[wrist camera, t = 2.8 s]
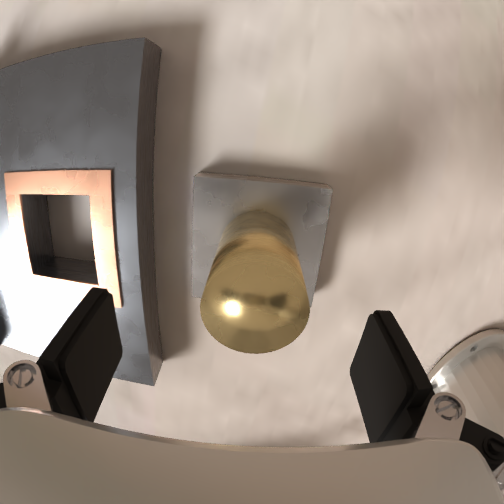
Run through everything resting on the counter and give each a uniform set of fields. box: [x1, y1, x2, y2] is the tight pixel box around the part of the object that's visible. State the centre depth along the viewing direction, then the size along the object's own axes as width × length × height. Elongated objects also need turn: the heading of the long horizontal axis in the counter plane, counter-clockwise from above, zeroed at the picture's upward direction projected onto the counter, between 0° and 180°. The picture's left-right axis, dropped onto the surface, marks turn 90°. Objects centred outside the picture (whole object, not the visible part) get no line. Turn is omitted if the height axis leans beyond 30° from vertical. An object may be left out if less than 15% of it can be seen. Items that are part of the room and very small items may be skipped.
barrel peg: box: [200, 211, 310, 354], centre depth 16 cm, size 4×4×7 cm
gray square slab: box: [192, 172, 333, 307], centre depth 20 cm, size 8×8×2 cm
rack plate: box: [0, 38, 163, 386], centre depth 18 cm, size 18×24×6 cm
